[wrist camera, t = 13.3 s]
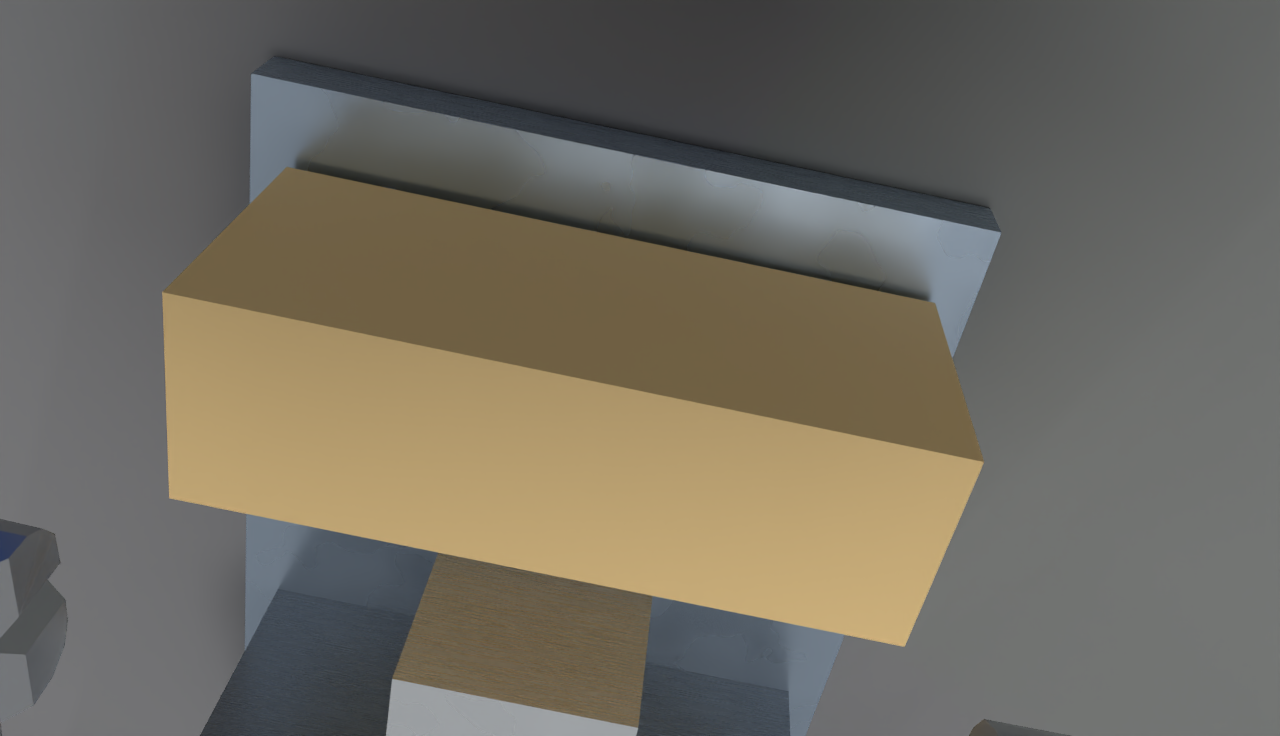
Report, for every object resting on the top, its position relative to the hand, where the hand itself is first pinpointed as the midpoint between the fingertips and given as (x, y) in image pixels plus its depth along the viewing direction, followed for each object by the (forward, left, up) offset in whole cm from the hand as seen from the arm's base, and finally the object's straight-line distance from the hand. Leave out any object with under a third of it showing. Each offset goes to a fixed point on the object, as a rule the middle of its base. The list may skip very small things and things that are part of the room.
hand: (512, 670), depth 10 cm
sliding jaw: (+6, 0, -18) cm, 19 cm away
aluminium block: (+14, 0, -18) cm, 23 cm away
